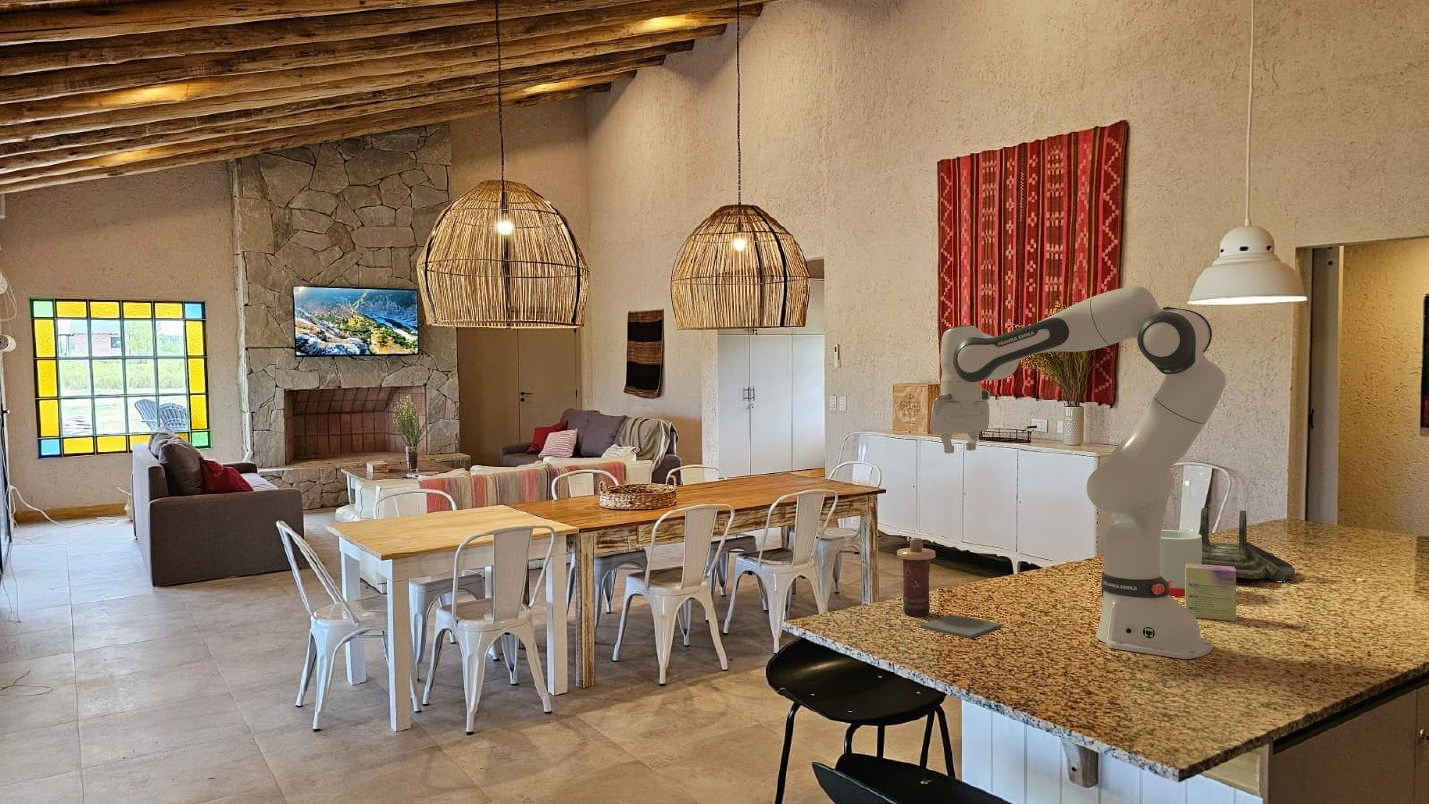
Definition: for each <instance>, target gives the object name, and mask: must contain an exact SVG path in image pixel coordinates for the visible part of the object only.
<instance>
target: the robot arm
mask: <svg viewBox="0 0 1429 804" xmlns="http://www.w3.org/2000/svg"><path fill="white" fill-rule="evenodd" d="M1212 337H1213V330H1212V327H1211V324H1210V323H1209V321H1208V320H1207V319H1206V317H1205V316H1204V315H1202V314H1201V313H1198V312H1196V311H1194V310H1191V309H1186V308H1176V307H1171V306H1164V307H1162V308H1161V307H1160V306H1159V304H1158V302H1157V300H1156V298H1155V296H1154V294H1153V293H1151V291H1150V290H1149V289H1147V288H1146V287H1144V286H1140V285H1133V286H1132V285H1131V286H1125V287H1120V288H1116V289H1112V290H1110V291H1105V292H1102V293H1099V294H1097V295H1094V296H1092V297H1088V298H1086V299H1083V300H1081V301H1079V302H1077V303H1074V304H1072V305H1070V306H1068V307H1067V308H1065V309H1063V310H1061V311H1058V312H1057V313H1055V314H1053V315H1050V316H1047V317H1046V318H1044V319H1042V320H1039V321H1037V322H1034V323H1033V324H1029V325H1026V326H1024V327H1021V328H1018V329H1015V330H1012V331H1009V332H1006V333H1003V334H1000V335H998V336H997V335H996V336H993V335H990V334H987V333H986V332H984V331H981V330H980V329H978V328H977V327H976V326H974V325H971V324H964V325H958V326H953V327H949V328H948V329H946V330H945V331H944V332H943V334H942V337H941V343H940V367H941V370H942V371H941V373H942V374H941V379H940V394H939V395H937V396H936V398H935V399H934V401H933V405H932V406H931V413H930V426H929V427H930V429H929V430H930V432H931V434H932V435H936V436H937V435H939V436H940V440H941V442H942V445H943V448H944V449H943V451H944V453H945V454H954V453H955V445H953V443H952V438H953V435H954V434H956V435H957V434H964V433H965V434H966V433H967V436H969V437H968V441H967V442H966V443H965V447H966V451H970V452H971V451H975V450H977V441H978V439H979V437H980V436H979V435H980V433H979V432H984V431H987V430H988V428H989V425H990V405H989V402H988V401H990V399H991V393H990V391H988V390H986V389H985V388H983V387H982V386H981V385H980V382H983V381H997V380H998V381H999V380H1003V379H1006V378H1009V377H1011V376H1012V375H1014V373H1015V372H1016V371H1017V369H1018V368H1019V364H1020V360H1021V359H1024V358H1027V357H1030V356H1033V355H1037V354H1042V353H1048V352H1069V353H1070V352H1072V353H1073V352H1075V353H1076V352H1086V351H1087V352H1088V351H1092V350H1097V349H1102V348H1106V347H1108V346H1111V345H1114V344H1117V343H1121V342H1123V341H1127V340H1131V339H1137V345H1138V349H1139V350H1140V352H1141V354H1142V355H1143V356H1144V357H1145V358H1146V360H1148V361H1149V362H1150V363H1151V364H1152V365H1154V367H1155V368H1156V369H1157V370H1158V371H1159V372H1160V373H1162V374H1164V375H1165V376H1164V380H1163V382H1162V383H1161V385H1160V387H1159V389H1157V391H1156V393H1155V395H1153V397H1152V399H1151V401H1150V403H1149V404H1148V405H1147V407H1146V409H1145V410H1144V412H1143V413H1142V414H1141V417H1140V418H1139V420H1138V421H1137V423H1136V424H1135V425H1134V426H1133V428H1132V430H1131V431H1130V432H1129V433H1128V434H1127V435H1126V436H1125V437H1124V438H1123V439H1122V441H1121V442H1119V444H1118V445H1117V446H1116V448H1114V449H1113V451H1112V452H1111V453H1110V454H1109V455H1108V457H1107V458H1106V459H1105V460H1104V462H1103V463H1101V464H1100V466H1098V467H1097V468H1096V469H1094V471H1093V472H1091V474H1090V475H1089V476H1088V479H1087V481H1086V493H1087V497H1088V499H1089V501H1090V502H1091V503H1092V505H1094V506H1095V507H1096V508H1097V509H1098V510H1101V511H1102V512H1107V513H1112V515H1111V518H1110V521H1109V525H1108V528H1107V530H1106V531H1105V533H1104V535H1103V571H1102V572H1101V581H1100V583H1101V584H1100V585H1101V586H1100V590H1101V597H1102V604H1101V605H1102V606H1101V613H1100V614H1101V615H1100V620H1099V624H1098V627H1097V630H1096V634H1095V637H1096V639H1098V640H1099V641H1101V642H1103V643H1105V644H1106V646H1107V647H1108V648H1110V649H1115V650H1120V651H1121V650H1122V651H1127V652H1136V653H1139V654H1140V653H1142V654H1147V655H1154V656H1163V657H1168V658H1174V659H1183V660H1188V659H1189V660H1191V659H1196V658H1197V659H1198V658H1201V657H1204V656H1206V655H1208V654H1210V653H1211V652H1212V651H1213V648H1214V647H1213V643H1212V642H1211V641H1210V640H1208V639H1204V638H1201V637H1202V636H1201V630H1200V625H1199V622H1198V619H1197V618H1196V617H1195V616H1194V615H1193V614H1192V613H1190V612H1189V611H1188V610H1186V609H1185V606H1183V605H1182V604H1181V603H1179V602H1178V601H1177V600H1176V599H1175V598H1174V597H1171V596H1170V595H1169V586H1171V585H1170V583H1171V582H1172V581H1171V580H1170V581H1168V582H1167V581H1166V580H1165V579H1163V578H1162V577H1161V576H1160V538H1161V531H1162V530H1163V525H1164V522H1165V521H1164V520H1165V516H1166V511H1167V507H1168V501H1169V498H1170V495H1171V493H1172V492H1173V489H1174V486H1175V476H1174V474H1173V470H1171V468H1172V467H1174V465H1175V464H1176V463H1177V462H1178V461H1180V460H1181V459H1182V457H1184V456H1185V455H1186V454H1187V452H1188V451H1189V450H1190V448H1191V447H1192V445H1193V443H1194V442H1195V440H1196V439H1197V437H1198V436H1199V434H1200V433H1201V432H1202V429H1203V428H1204V427H1205V425H1206V424H1207V422H1208V421H1209V419H1210V417H1211V416H1212V414H1213V413H1214V411H1215V409H1216V407H1217V405H1218V403H1219V401H1220V400H1221V399H1220V398H1221V396H1222V394H1223V392H1224V389H1225V386H1226V382H1227V381H1226V380H1227V379H1226V375H1225V373H1224V372H1223V370H1222V369H1221V368H1220V367H1219V366H1218V365H1217V364H1216V363H1214V362H1213V361H1210V360H1209V359H1207V357H1206V356H1205V352H1206V351H1207V350H1208V348H1209V347H1210V345H1211V343H1212V341H1213V340H1212V339H1213V338H1212Z"/></svg>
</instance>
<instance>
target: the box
mask: <svg viewBox="0 0 1429 804" xmlns="http://www.w3.org/2000/svg"><path fill="white" fill-rule="evenodd" d="M1184 608H1185V609H1186V610H1188V611H1189V612H1190V613H1192V614H1193V615H1194V616H1195V617H1196V619H1197V618H1198V619H1209V620H1219V621H1227V622H1230V621H1231V622H1236V620H1237V616H1236V615H1237V577H1236V570H1235V567H1232V566H1217V565H1202V564H1189V563H1186V567H1185V597H1184Z"/></svg>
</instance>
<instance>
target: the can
mask: <svg viewBox="0 0 1429 804" xmlns="http://www.w3.org/2000/svg"><path fill="white" fill-rule="evenodd" d="M930 561H931V559H927V560H909V559H902V568H903V570H902V575H903V576H902V581H903V582H902V585H903V587H902V588H903V589H902V590H903V591H902V592H903V613H904V614H905V616H908V617H915V618H916V617H917V618H918V617H926V616H928V615H929V614H930V570H931V562H930Z"/></svg>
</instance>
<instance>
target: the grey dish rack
mask: <svg viewBox="0 0 1429 804" xmlns="http://www.w3.org/2000/svg"><path fill="white" fill-rule="evenodd" d="M1209 518H1210V517H1209V509H1208V507H1207V508H1206V507H1205V508H1204V507H1202V508H1201V509H1200V522H1199V523H1200V526H1199V528H1200V529H1199V531H1200V533H1199V534H1200V535H1202V565H1217V566H1232V567H1235V570H1236V578H1240V579H1241V578H1242V579H1251V580H1254V579H1255V580H1256V579H1264V578H1265V579H1270V580H1271V581H1272V580H1275V581H1282V582H1284V581H1286V582H1287V580H1292V579H1294V576H1295V572H1296V570H1295V569H1296V568H1295V567H1293V565H1292V564H1291V563H1289V562H1286V561H1285V560H1283V559H1282V558H1279V557H1278V556H1275V554H1274V553H1273V552H1268V551H1266V550H1264V549H1263V548H1260V547H1259V546H1256V545H1255V544H1252V543H1251V542H1249V541H1247V539H1248V538H1247V537H1248V536H1247V530H1248V528H1247V522H1248V521H1247V511H1246V510H1239V518H1238V543H1225V542H1224V543H1223V542H1213V541H1212V542H1210V539H1209V538H1210V537H1209V536H1210V535H1209V534H1210V530H1209V529H1210V528H1209V527H1210V526H1209V525H1210V523H1209V521H1210V520H1209ZM1275 581H1274V582H1275Z"/></svg>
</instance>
